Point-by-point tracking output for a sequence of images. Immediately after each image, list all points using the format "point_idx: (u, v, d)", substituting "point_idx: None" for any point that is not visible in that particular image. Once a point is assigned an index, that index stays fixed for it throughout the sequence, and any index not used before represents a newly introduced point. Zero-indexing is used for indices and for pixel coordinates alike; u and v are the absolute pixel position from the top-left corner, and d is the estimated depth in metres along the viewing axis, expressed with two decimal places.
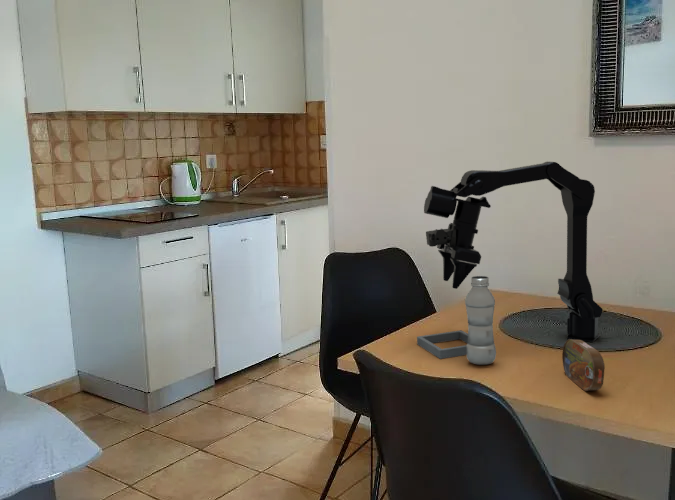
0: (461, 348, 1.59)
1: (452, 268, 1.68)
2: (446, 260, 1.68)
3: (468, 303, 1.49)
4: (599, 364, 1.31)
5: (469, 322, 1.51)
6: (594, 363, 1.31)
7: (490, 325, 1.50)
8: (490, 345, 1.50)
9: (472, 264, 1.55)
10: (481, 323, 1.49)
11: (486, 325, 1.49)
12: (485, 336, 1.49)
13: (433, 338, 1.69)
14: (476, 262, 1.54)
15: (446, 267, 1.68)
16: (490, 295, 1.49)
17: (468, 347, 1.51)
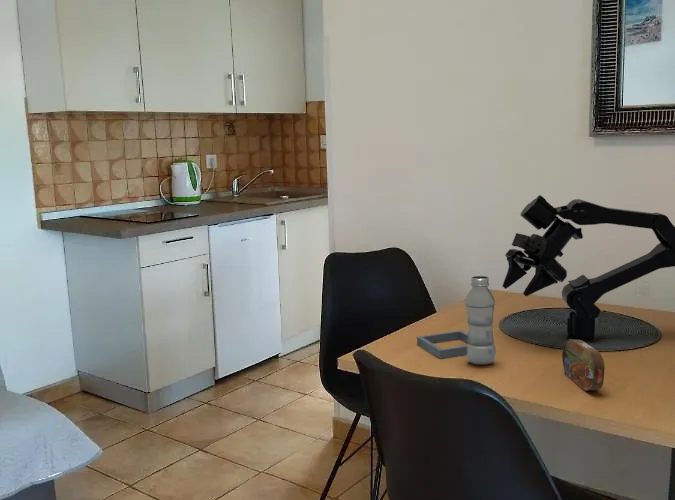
0: (461, 348, 1.59)
1: (514, 279, 1.68)
2: (512, 269, 1.68)
3: (468, 303, 1.49)
4: (599, 364, 1.31)
5: (469, 322, 1.51)
6: (593, 363, 1.31)
7: (490, 325, 1.50)
8: (490, 345, 1.50)
9: (555, 279, 1.57)
10: (481, 323, 1.49)
11: (486, 325, 1.49)
12: (485, 336, 1.49)
13: (433, 338, 1.69)
14: (561, 279, 1.56)
15: (510, 275, 1.68)
16: (490, 295, 1.49)
17: (468, 347, 1.51)
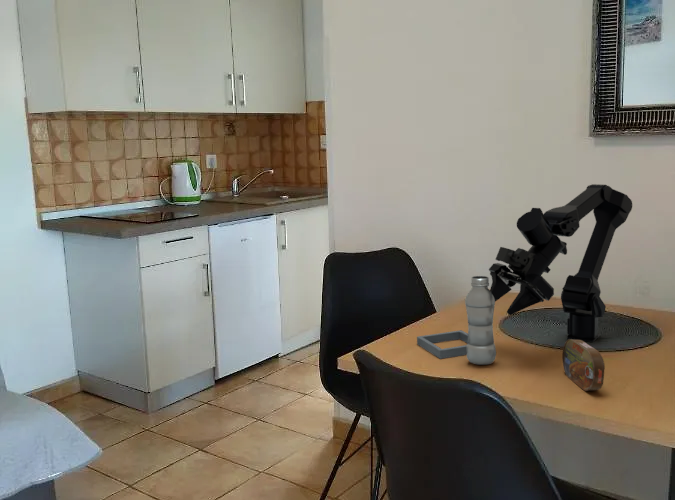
0: (461, 348, 1.59)
1: (498, 296, 1.57)
2: (496, 285, 1.57)
3: (468, 303, 1.49)
4: (599, 364, 1.31)
5: (469, 322, 1.51)
6: (594, 363, 1.31)
7: (490, 325, 1.50)
8: (490, 345, 1.50)
9: (541, 298, 1.46)
10: (481, 323, 1.49)
11: (486, 325, 1.49)
12: (485, 336, 1.49)
13: (433, 338, 1.69)
14: (548, 297, 1.45)
15: (493, 292, 1.57)
16: (490, 295, 1.49)
17: (468, 347, 1.51)
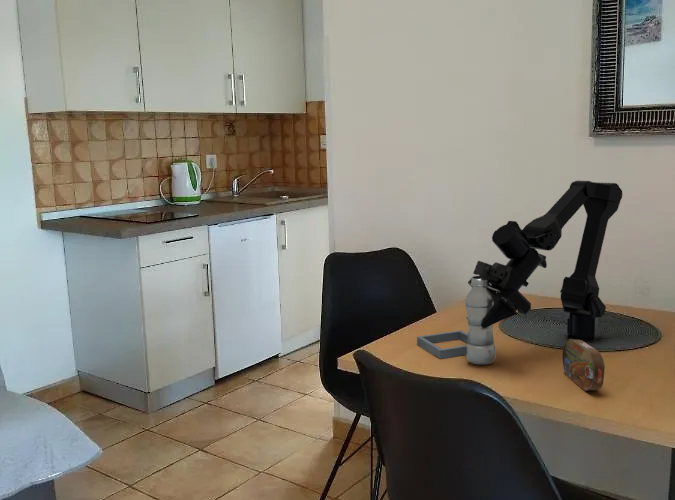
0: (461, 348, 1.59)
1: None
2: None
3: (468, 303, 1.49)
4: (599, 364, 1.31)
5: (469, 322, 1.51)
6: (593, 363, 1.31)
7: None
8: (490, 345, 1.50)
9: (514, 311, 1.46)
10: (481, 323, 1.49)
11: None
12: (485, 336, 1.49)
13: (433, 338, 1.69)
14: (525, 312, 1.44)
15: None
16: (490, 295, 1.49)
17: (468, 347, 1.51)
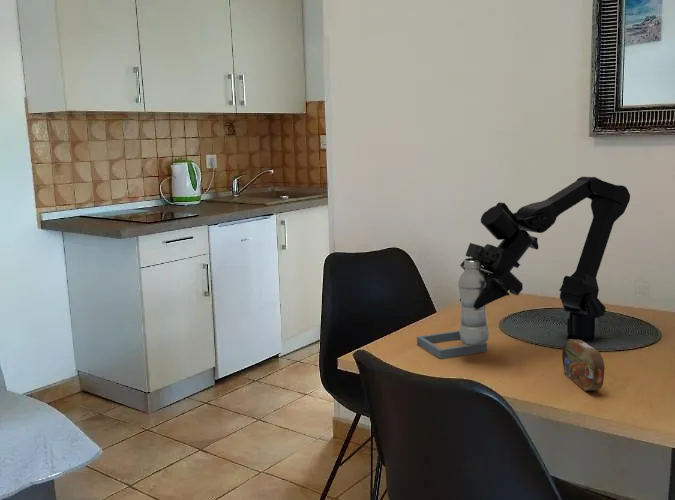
0: (461, 348, 1.59)
1: None
2: None
3: (461, 285, 1.51)
4: (599, 364, 1.31)
5: (462, 304, 1.53)
6: (593, 363, 1.31)
7: (483, 306, 1.52)
8: (483, 326, 1.52)
9: (506, 291, 1.48)
10: None
11: None
12: (478, 317, 1.52)
13: (433, 338, 1.69)
14: (517, 292, 1.46)
15: None
16: (483, 277, 1.51)
17: (461, 328, 1.54)
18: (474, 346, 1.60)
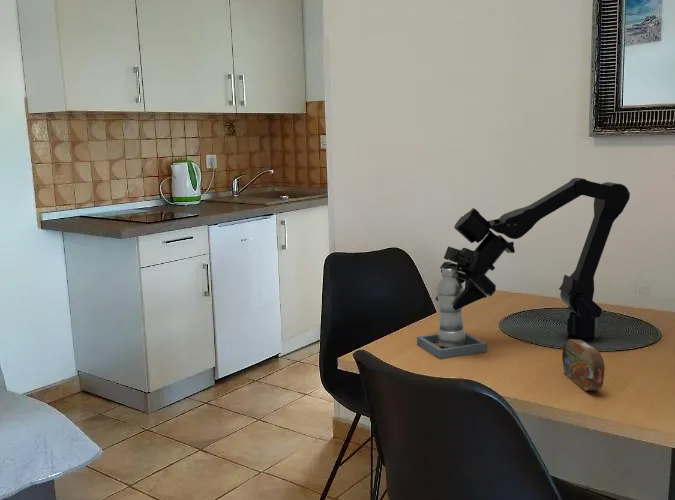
0: (461, 348, 1.59)
1: None
2: None
3: (439, 291, 1.61)
4: (599, 364, 1.31)
5: (440, 309, 1.63)
6: (593, 363, 1.31)
7: (459, 312, 1.62)
8: (459, 330, 1.62)
9: (484, 294, 1.56)
10: (451, 310, 1.61)
11: (455, 312, 1.61)
12: (454, 322, 1.61)
13: (433, 338, 1.69)
14: (490, 293, 1.55)
15: None
16: (459, 284, 1.61)
17: (439, 332, 1.63)
18: (474, 346, 1.60)
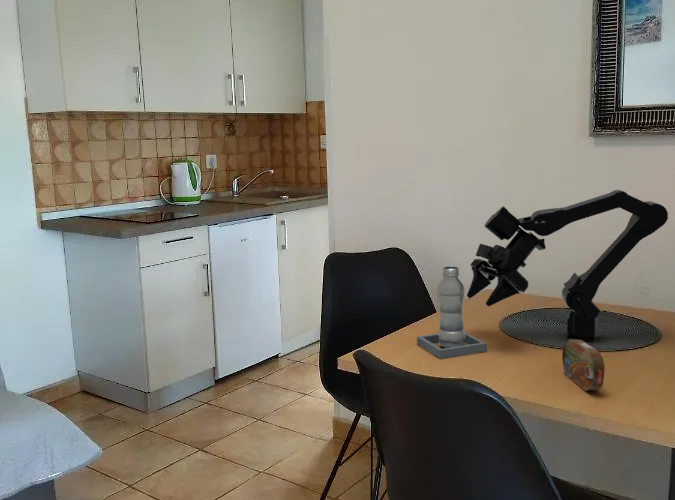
0: (461, 348, 1.59)
1: (478, 289, 1.70)
2: (477, 279, 1.70)
3: (439, 291, 1.61)
4: (599, 364, 1.31)
5: (440, 309, 1.63)
6: (594, 363, 1.31)
7: (460, 312, 1.62)
8: (460, 330, 1.62)
9: (516, 290, 1.59)
10: (451, 310, 1.61)
11: (456, 312, 1.61)
12: (455, 322, 1.61)
13: (433, 338, 1.69)
14: (523, 289, 1.58)
15: (474, 285, 1.70)
16: (460, 284, 1.61)
17: (440, 332, 1.63)
18: (474, 346, 1.60)
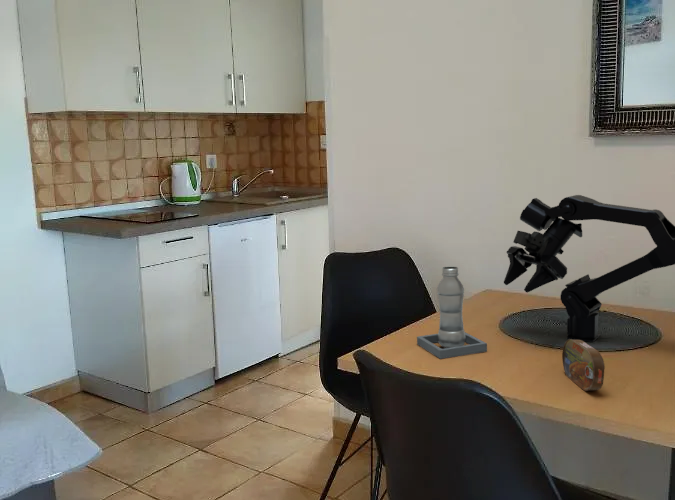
0: (461, 348, 1.59)
1: (515, 276, 1.71)
2: (514, 266, 1.71)
3: (439, 291, 1.61)
4: (599, 364, 1.31)
5: (440, 309, 1.63)
6: (593, 363, 1.31)
7: (459, 312, 1.62)
8: (460, 330, 1.62)
9: (555, 276, 1.60)
10: (451, 310, 1.61)
11: (456, 312, 1.61)
12: (454, 322, 1.61)
13: (433, 338, 1.69)
14: (562, 276, 1.59)
15: (511, 272, 1.71)
16: (459, 284, 1.61)
17: (439, 332, 1.63)
18: (474, 346, 1.60)
